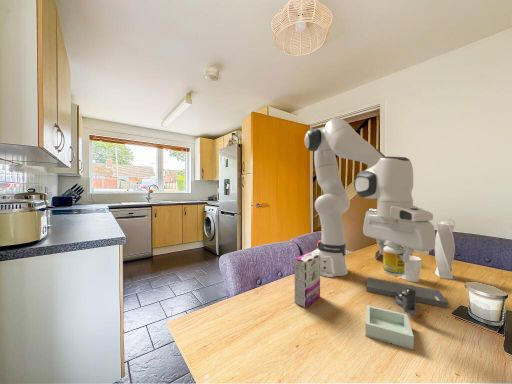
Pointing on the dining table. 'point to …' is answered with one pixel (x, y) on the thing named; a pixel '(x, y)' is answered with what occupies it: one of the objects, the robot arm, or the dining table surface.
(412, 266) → the white cup
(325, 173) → the robot arm
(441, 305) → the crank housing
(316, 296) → the candy bar box
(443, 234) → the skyscraper
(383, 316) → the tray
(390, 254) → the supplement bottle
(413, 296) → the crank
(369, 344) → the dining table surface
